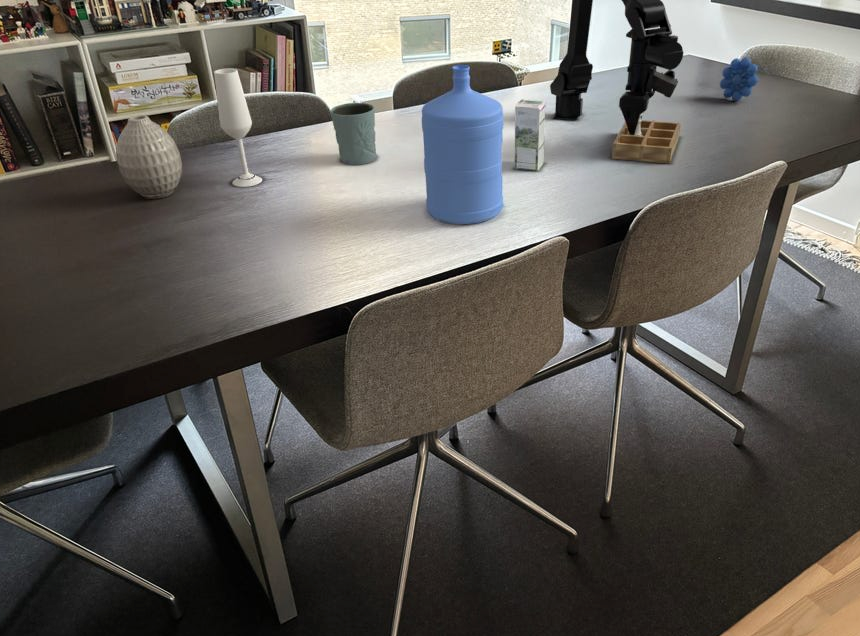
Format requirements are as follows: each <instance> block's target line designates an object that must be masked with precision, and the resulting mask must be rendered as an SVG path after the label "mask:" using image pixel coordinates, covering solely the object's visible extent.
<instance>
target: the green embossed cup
mask: <svg viewBox="0 0 860 636" xmlns="http://www.w3.org/2000/svg"><path fill="white" fill-rule="evenodd" d="M375 116H376V114H375V107H374V105H373V104H370V103H367V102H366V103H365V102H347V103H342V104H338V105H336V106H333V107H332V108H331V109H330V118H331V121H332V125H333V130H334V131H335V139H336V143H337V145H338V146H337V147H338V152H339V157H340V161H341V162H342V163H343V164H346V165H350V166H362V165H367V164H371V163H372V162H374V161H376V160H377V148H376V147H377V145H376V131H375V126H376V117H375Z"/></svg>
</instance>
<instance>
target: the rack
mask: <svg viewBox="0 0 860 636" xmlns="http://www.w3.org/2000/svg"><path fill="white" fill-rule="evenodd" d="M641 120H642V121H641V123H640V129H641V133H642V136H635V135H626V134H627V132H628V128H627V125H626V122H625V121H624V123H623V125H622V127H621V128H620V130H619V132H618V134H617V136H616V137H615V139H614V141H613V143H612V148H611V149H612V151H611V159H615V160H625V161H637V162H648V163H657V164H658V163H659V164H671V162H672V159H673V156H674V153H675V149H676V147H677V144H678V142H679V138H680V132H681V125H682V123H681V122H672V121H659V120H647V119H641Z"/></svg>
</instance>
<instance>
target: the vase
mask: <svg viewBox="0 0 860 636" xmlns="http://www.w3.org/2000/svg"><path fill="white" fill-rule="evenodd" d="M115 157H116V163H117V168H118V170H119V173H120V175H121V176H122V178H123V180H124V181H125V183H126V184H127V185H128V186H129V187H130V189H132V190H133V191H134V192H135V193H137V194H138V193H139V194H138V195H140V194H143V195H157V194H164V193H167V192H169V191H172V190H173V189H175V188H176V189H177V188H178V186H179V183H180V181H181V177H182V174H183V161H182V155H181V153H180V150H179V147H178V145H177V143H176V141H175V140H174V139H173V137H172V136H171V134H169V132H167V130H165V128H163V127H162V126H161V125H159V124H157V123H156V122H154V121H152V120H151V119H150V117H149V116H148V115H144V114H138V115H133V116H131V117H129V118H128V119H127V124H126V125H125V126H124V128H123V129H122V130H121V132H120V134H119V136H118V139H117V142H116V147H115ZM176 189H175V190H174V191H172V192H170V193H168V194H165V195H161V196H153V197H148V196H142V195H140V196H141V197H143V198H145V199H148V200H160V199H165V198H167V197H170V196H171V195H173V194H174V192H175V191H176Z"/></svg>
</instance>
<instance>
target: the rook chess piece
mask: <svg viewBox="0 0 860 636" xmlns="http://www.w3.org/2000/svg"><path fill="white" fill-rule="evenodd" d="M643 116H644V113H642V114H640V117H639V121H638V124H637V128H636V131H635V134H634V135H635V136H642V133H641V129H640V123H641V121H642V120H643V119H641V117H642V118H643ZM626 135H630V134H629V131H628V132H627V134H626Z"/></svg>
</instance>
